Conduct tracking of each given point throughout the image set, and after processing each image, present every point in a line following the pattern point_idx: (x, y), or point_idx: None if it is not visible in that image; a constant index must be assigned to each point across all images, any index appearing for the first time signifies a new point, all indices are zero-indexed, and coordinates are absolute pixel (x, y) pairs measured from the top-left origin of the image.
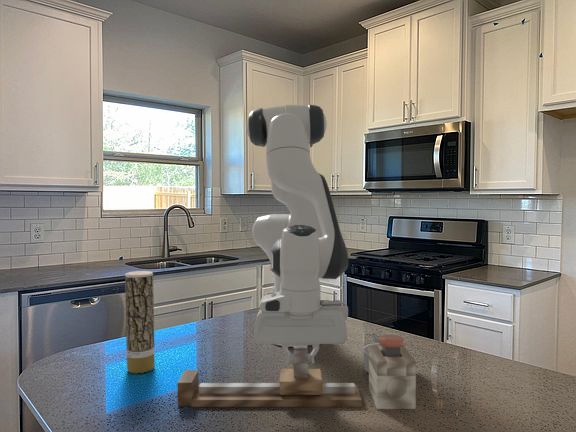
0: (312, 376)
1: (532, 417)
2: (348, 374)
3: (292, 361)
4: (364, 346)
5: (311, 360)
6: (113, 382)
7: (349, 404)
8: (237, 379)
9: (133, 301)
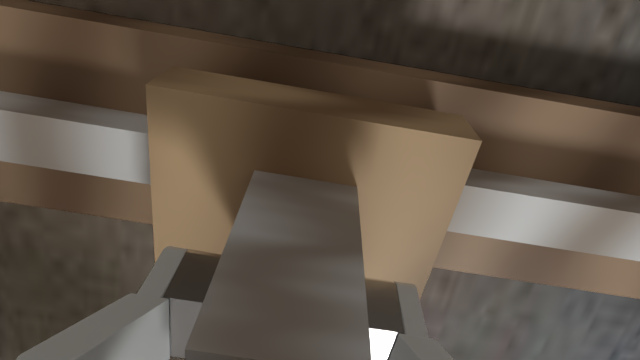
0: (216, 184)
1: None
2: (63, 323)
3: (368, 287)
4: None
5: (182, 265)
6: None
7: (35, 3)
8: (549, 356)
9: None
